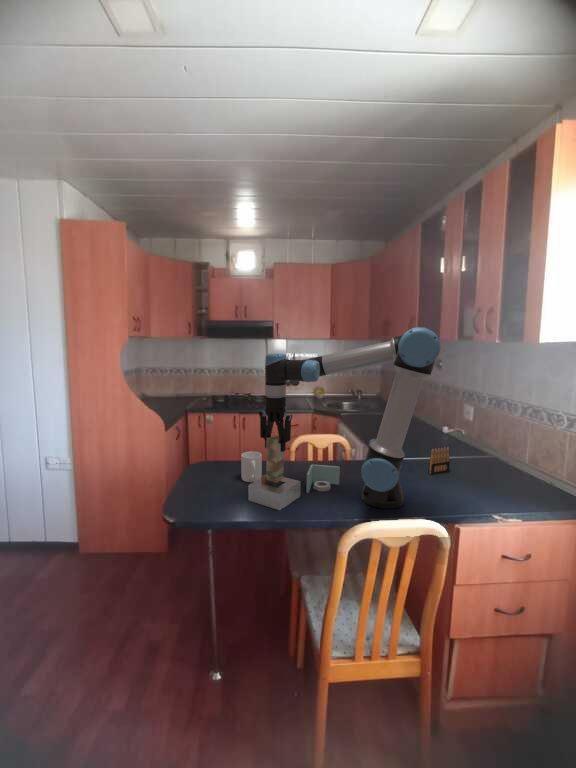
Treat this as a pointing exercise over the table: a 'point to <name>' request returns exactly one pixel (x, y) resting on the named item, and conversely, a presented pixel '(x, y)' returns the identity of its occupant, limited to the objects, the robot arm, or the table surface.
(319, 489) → the right angle wall
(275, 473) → the column
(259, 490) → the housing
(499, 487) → the table surface
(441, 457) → the ammunition clip
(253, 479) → the mug
